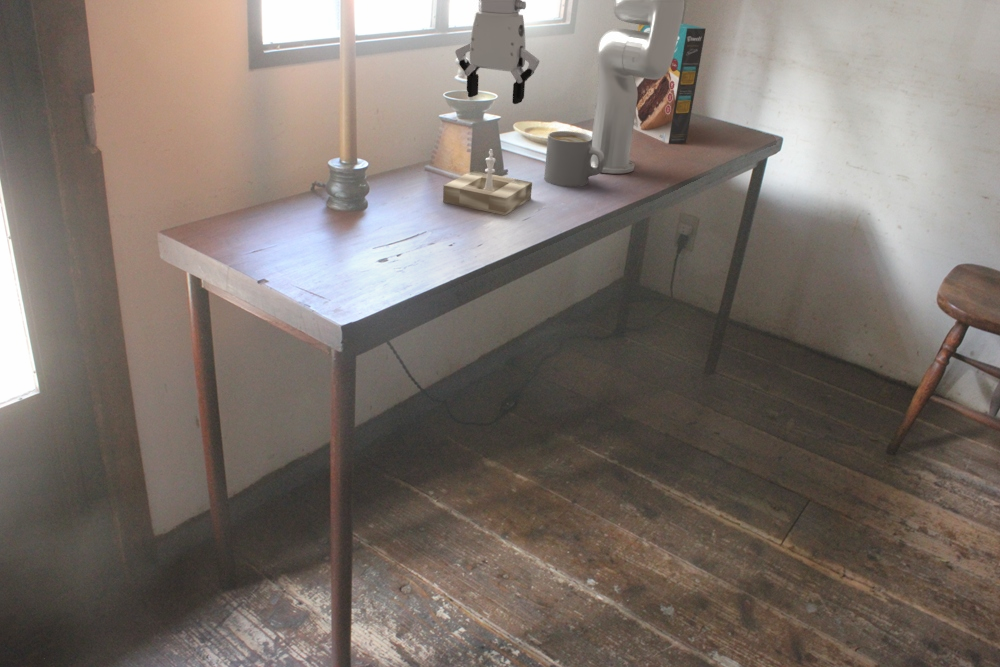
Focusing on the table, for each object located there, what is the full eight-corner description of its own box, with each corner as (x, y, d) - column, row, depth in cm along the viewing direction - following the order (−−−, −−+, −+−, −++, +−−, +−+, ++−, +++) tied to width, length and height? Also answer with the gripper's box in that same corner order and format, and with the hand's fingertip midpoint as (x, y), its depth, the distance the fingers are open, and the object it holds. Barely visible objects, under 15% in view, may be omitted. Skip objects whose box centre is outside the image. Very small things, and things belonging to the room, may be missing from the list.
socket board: (471, 186, 172) (472, 170, 170) (530, 198, 167) (532, 182, 165) (443, 201, 161) (443, 185, 160) (505, 215, 156) (506, 198, 155)
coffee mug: (535, 179, 180) (539, 135, 175) (559, 171, 187) (563, 128, 182) (585, 193, 173) (591, 147, 168) (608, 184, 180) (614, 140, 175)
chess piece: (480, 201, 161) (482, 152, 157) (473, 193, 165) (476, 146, 161) (503, 200, 163) (506, 152, 158) (496, 193, 167) (499, 146, 162)
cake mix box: (625, 125, 235) (639, 17, 221) (642, 124, 237) (657, 17, 223) (668, 143, 218) (687, 28, 204) (686, 142, 220) (705, 28, 206)
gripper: (549, 8, 147) (542, 102, 155) (466, -1, 153) (464, 90, 161) (533, 11, 141) (527, 109, 149) (448, 2, 147) (446, 96, 155)
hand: (494, 99), depth 155 cm, fingers open, 9 cm apart
